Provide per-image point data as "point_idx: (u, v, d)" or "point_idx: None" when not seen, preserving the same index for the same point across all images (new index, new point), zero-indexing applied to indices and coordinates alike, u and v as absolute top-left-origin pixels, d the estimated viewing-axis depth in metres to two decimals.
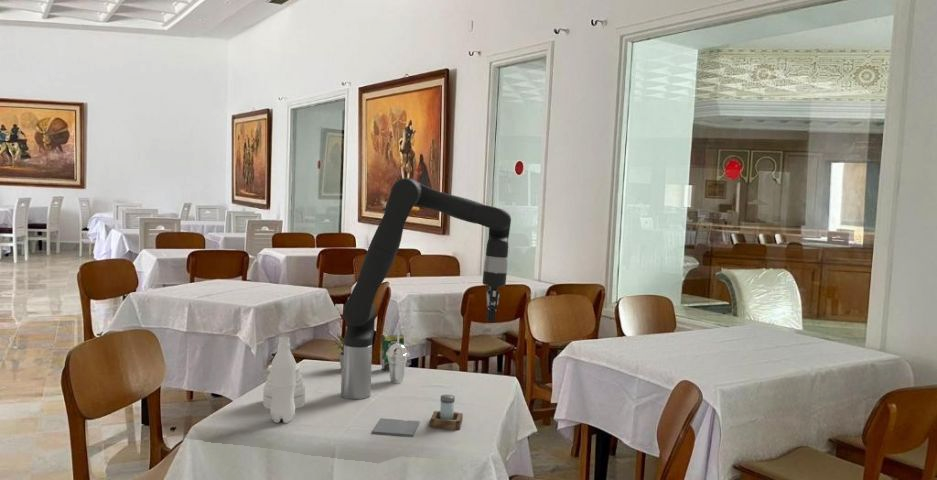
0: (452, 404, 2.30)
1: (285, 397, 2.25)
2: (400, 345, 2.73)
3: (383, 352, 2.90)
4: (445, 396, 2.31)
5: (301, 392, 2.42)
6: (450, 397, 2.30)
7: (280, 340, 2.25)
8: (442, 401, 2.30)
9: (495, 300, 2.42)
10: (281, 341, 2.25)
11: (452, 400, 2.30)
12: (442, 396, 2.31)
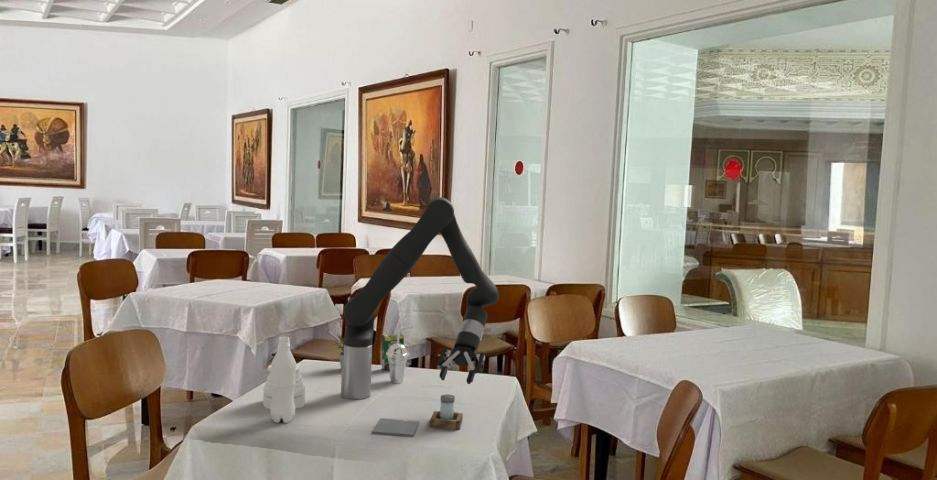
0: (452, 404, 2.30)
1: (285, 397, 2.25)
2: (400, 345, 2.73)
3: (383, 352, 2.90)
4: (445, 396, 2.31)
5: (301, 392, 2.42)
6: (450, 397, 2.30)
7: (280, 340, 2.25)
8: (442, 401, 2.30)
9: (483, 364, 2.38)
10: (281, 341, 2.25)
11: (452, 400, 2.30)
12: (442, 396, 2.31)
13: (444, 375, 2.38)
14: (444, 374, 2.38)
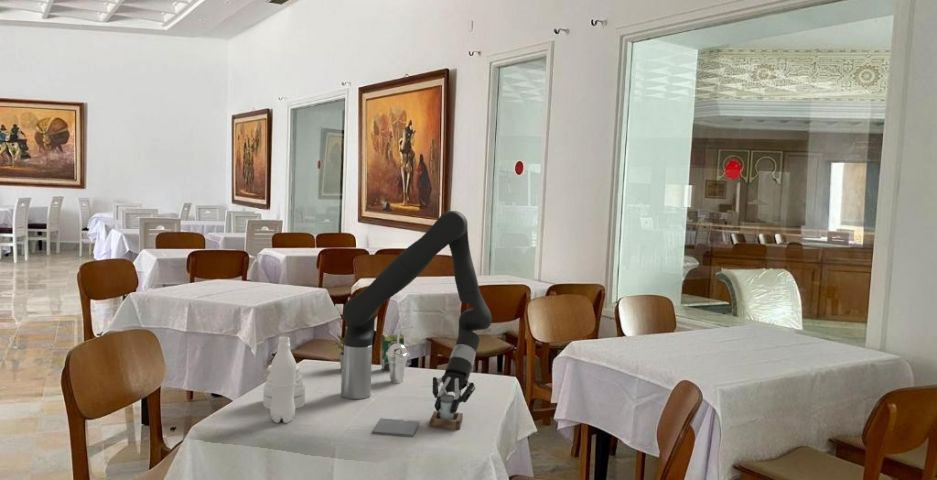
0: None
1: (285, 397, 2.25)
2: (400, 345, 2.73)
3: (383, 352, 2.90)
4: (445, 396, 2.31)
5: (301, 392, 2.42)
6: (450, 397, 2.30)
7: (280, 340, 2.25)
8: (442, 401, 2.30)
9: (470, 394, 2.32)
10: (281, 341, 2.25)
11: (452, 400, 2.30)
12: (442, 396, 2.31)
13: (439, 406, 2.31)
14: (439, 405, 2.31)
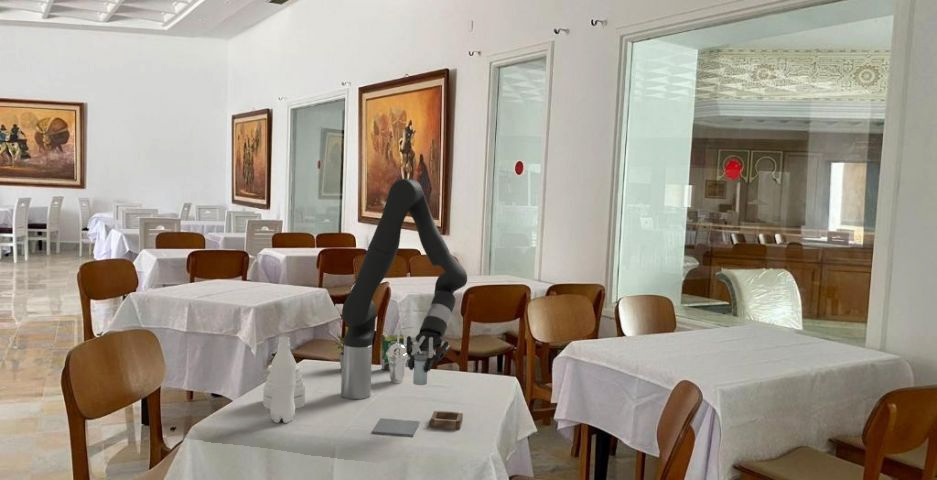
0: None
1: (285, 397, 2.25)
2: (400, 345, 2.73)
3: (383, 352, 2.90)
4: (419, 355, 2.27)
5: (301, 392, 2.42)
6: (424, 356, 2.26)
7: (280, 340, 2.25)
8: (415, 359, 2.26)
9: (444, 353, 2.28)
10: (281, 341, 2.25)
11: (426, 358, 2.26)
12: (416, 354, 2.27)
13: (413, 364, 2.27)
14: (413, 363, 2.27)
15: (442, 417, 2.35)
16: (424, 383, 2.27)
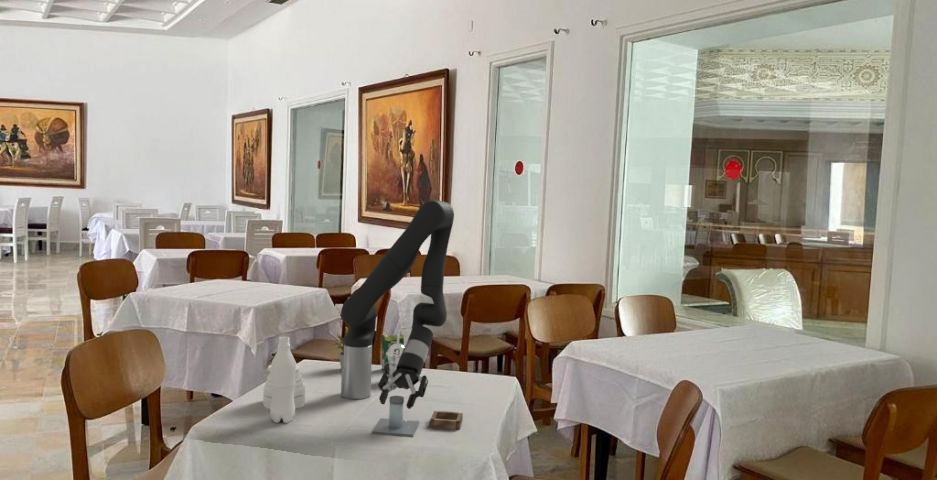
0: (401, 405, 2.24)
1: (285, 397, 2.25)
2: (400, 345, 2.73)
3: (383, 352, 2.90)
4: (394, 397, 2.25)
5: (301, 392, 2.42)
6: (399, 398, 2.24)
7: (280, 340, 2.25)
8: (391, 402, 2.24)
9: (425, 387, 2.27)
10: (281, 341, 2.25)
11: (401, 401, 2.24)
12: (391, 397, 2.25)
13: (384, 399, 2.27)
14: (384, 398, 2.27)
15: (442, 417, 2.35)
16: (400, 426, 2.25)
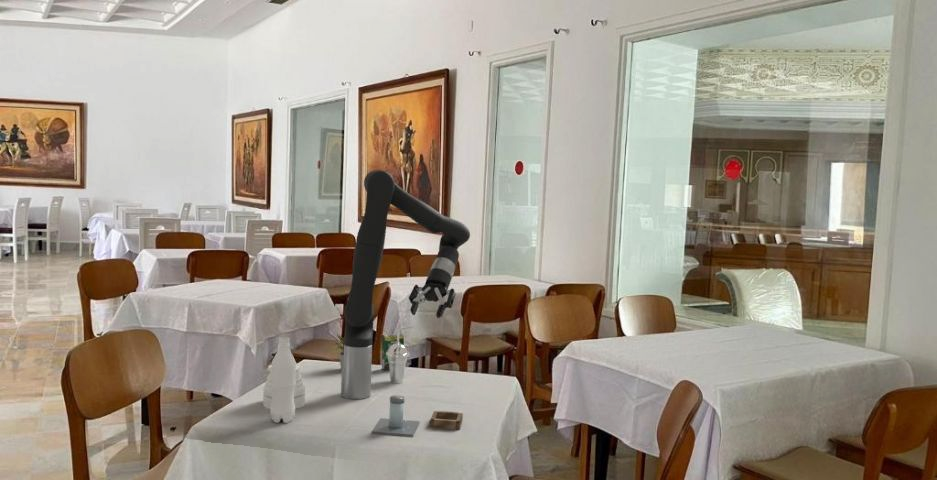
0: (402, 405, 2.25)
1: (285, 397, 2.25)
2: (400, 345, 2.73)
3: (383, 352, 2.90)
4: (395, 397, 2.26)
5: (301, 392, 2.42)
6: (400, 398, 2.25)
7: (280, 340, 2.25)
8: (391, 402, 2.24)
9: (453, 299, 2.43)
10: (281, 341, 2.25)
11: (402, 401, 2.25)
12: (391, 397, 2.26)
13: (415, 310, 2.43)
14: (415, 309, 2.43)
15: (442, 417, 2.35)
16: (400, 426, 2.25)
